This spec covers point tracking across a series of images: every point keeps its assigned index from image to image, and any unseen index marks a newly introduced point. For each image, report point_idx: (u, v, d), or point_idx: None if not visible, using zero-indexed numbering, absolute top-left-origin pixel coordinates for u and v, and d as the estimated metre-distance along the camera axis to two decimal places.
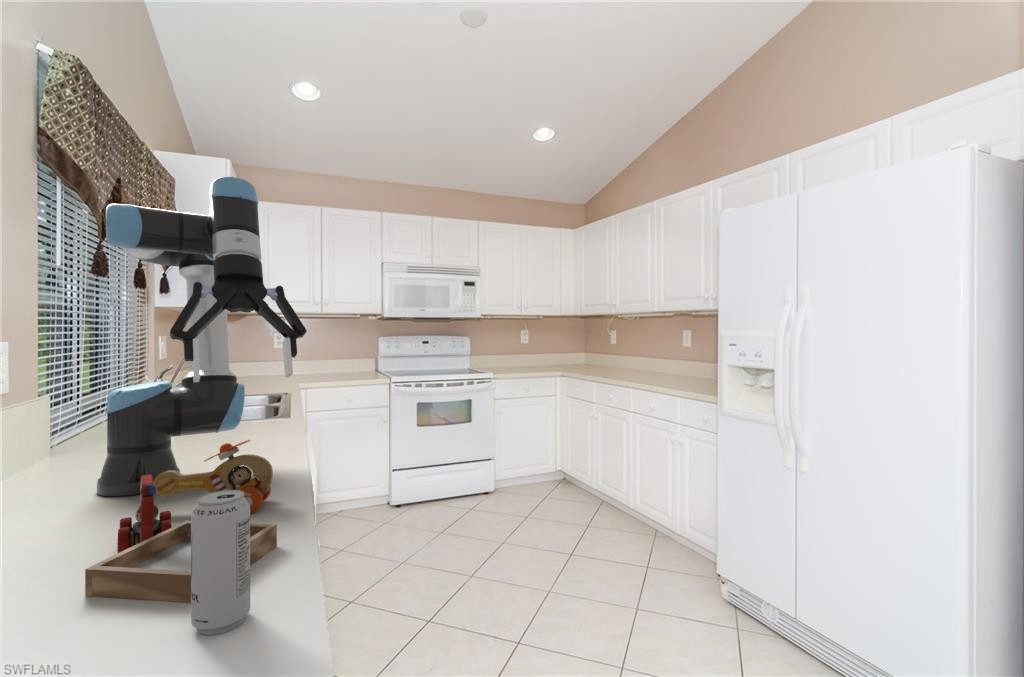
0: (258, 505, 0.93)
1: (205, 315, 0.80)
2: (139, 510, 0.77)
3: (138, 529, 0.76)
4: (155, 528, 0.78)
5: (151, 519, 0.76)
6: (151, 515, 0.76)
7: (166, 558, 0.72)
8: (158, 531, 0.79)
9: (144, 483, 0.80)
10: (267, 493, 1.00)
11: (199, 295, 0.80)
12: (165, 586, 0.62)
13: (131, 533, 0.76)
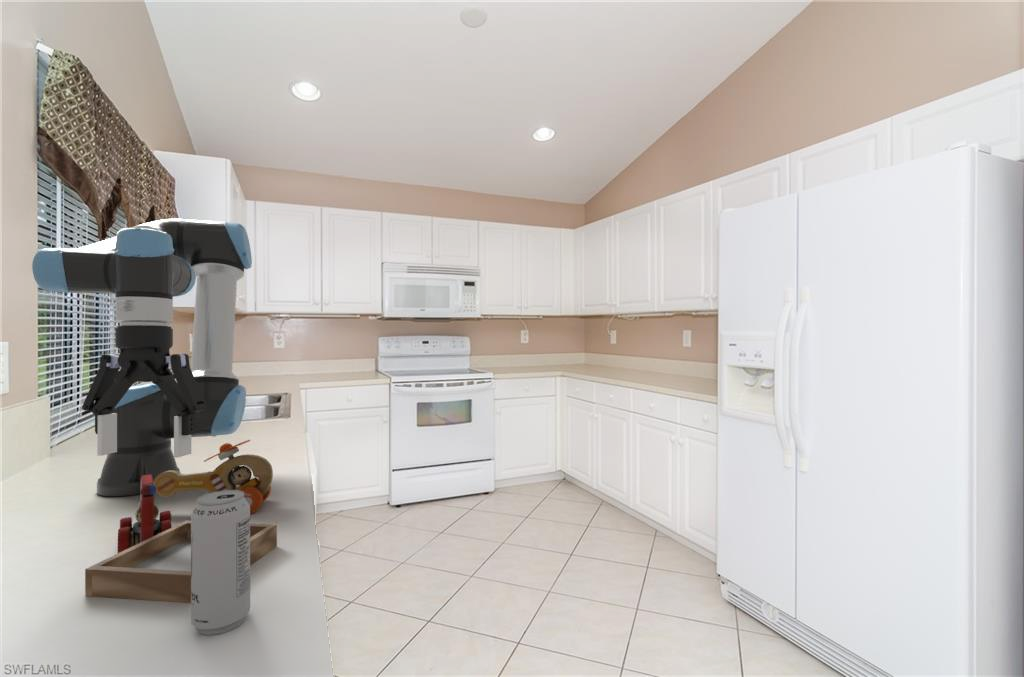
0: (258, 505, 0.93)
1: (108, 390, 0.79)
2: (139, 510, 0.77)
3: (138, 529, 0.76)
4: (155, 528, 0.78)
5: (151, 519, 0.76)
6: (151, 515, 0.76)
7: (166, 558, 0.72)
8: (158, 531, 0.79)
9: (144, 483, 0.80)
10: (267, 493, 1.00)
11: (104, 369, 0.79)
12: (165, 586, 0.62)
13: (131, 533, 0.76)
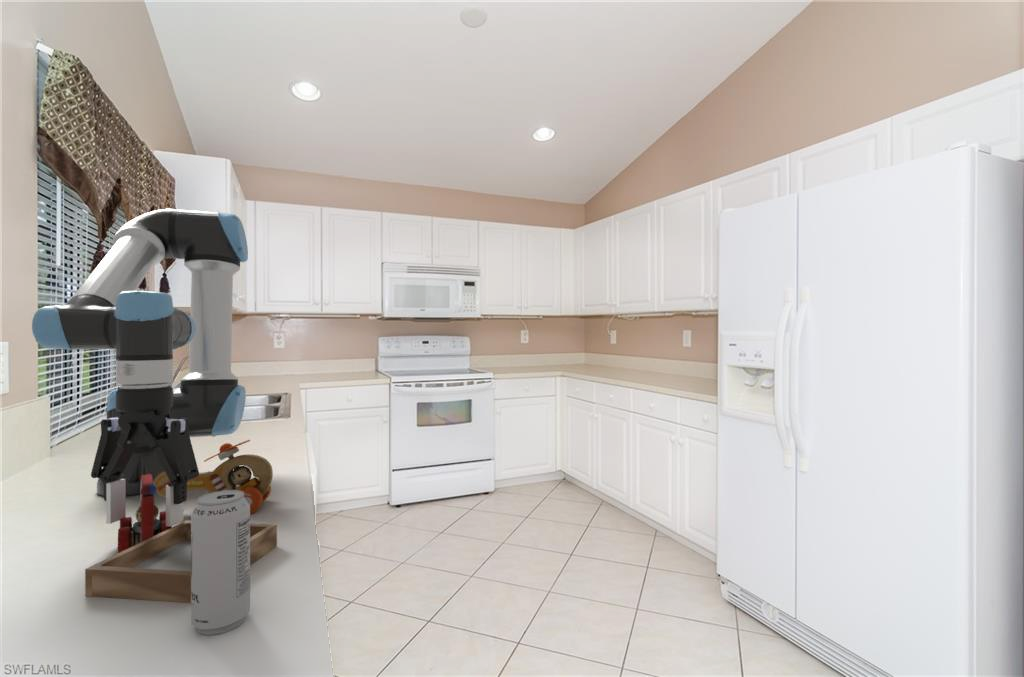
0: (258, 505, 0.93)
1: (113, 456, 0.79)
2: (139, 510, 0.77)
3: (138, 529, 0.76)
4: (155, 528, 0.78)
5: (151, 519, 0.76)
6: (151, 515, 0.76)
7: (166, 558, 0.72)
8: (158, 531, 0.79)
9: (144, 483, 0.80)
10: (267, 493, 1.00)
11: (106, 433, 0.79)
12: (165, 586, 0.62)
13: (131, 533, 0.76)
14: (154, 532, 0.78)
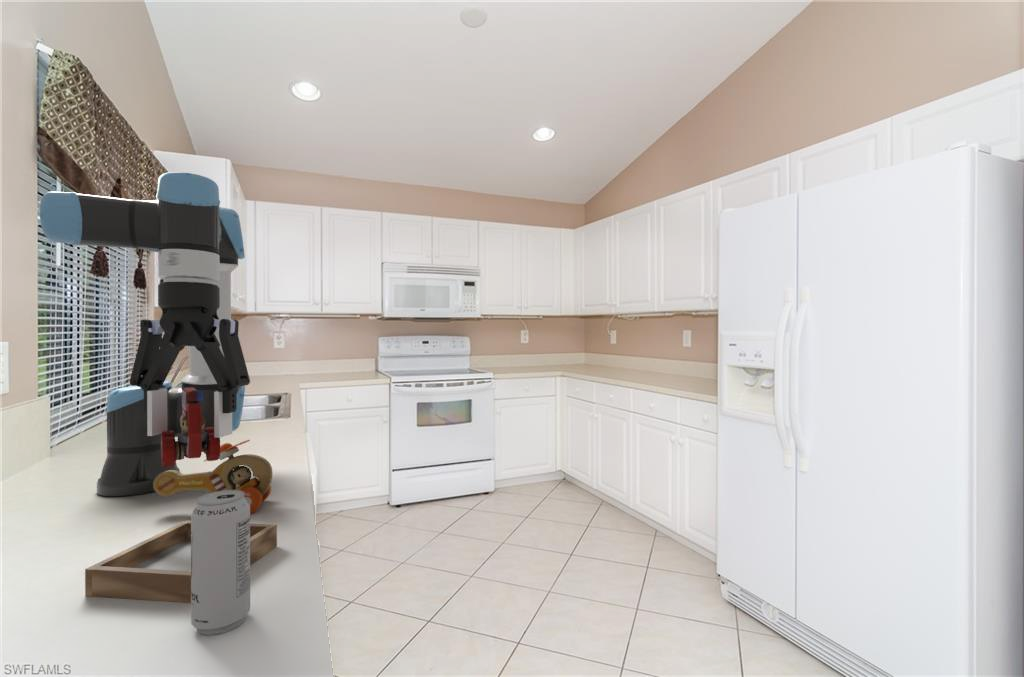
0: (257, 505, 0.93)
1: (155, 360, 0.71)
2: (185, 418, 0.68)
3: (184, 438, 0.68)
4: (202, 439, 0.69)
5: (199, 426, 0.67)
6: (199, 422, 0.67)
7: (166, 558, 0.72)
8: (205, 443, 0.70)
9: (188, 391, 0.71)
10: (267, 493, 1.00)
11: (147, 335, 0.71)
12: (165, 586, 0.62)
13: (176, 443, 0.68)
14: None
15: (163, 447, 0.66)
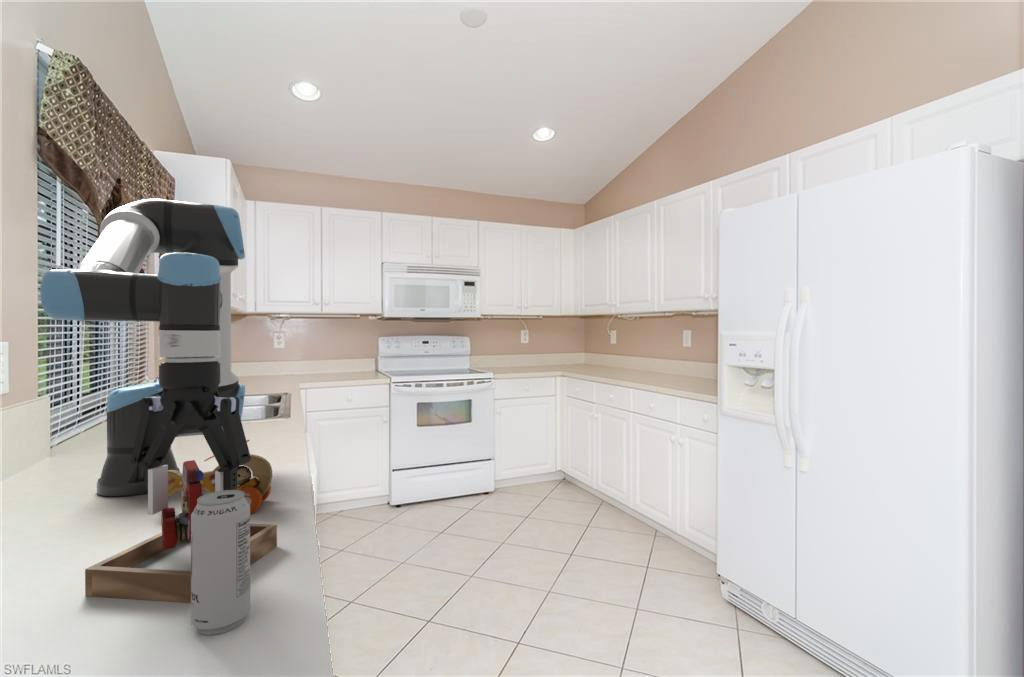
0: (257, 505, 0.93)
1: (156, 439, 0.71)
2: (186, 499, 0.68)
3: (185, 520, 0.68)
4: None
5: None
6: None
7: (166, 558, 0.72)
8: None
9: (189, 469, 0.71)
10: (267, 493, 1.00)
11: (148, 413, 0.71)
12: (165, 586, 0.62)
13: (177, 524, 0.68)
14: None
15: (164, 531, 0.66)
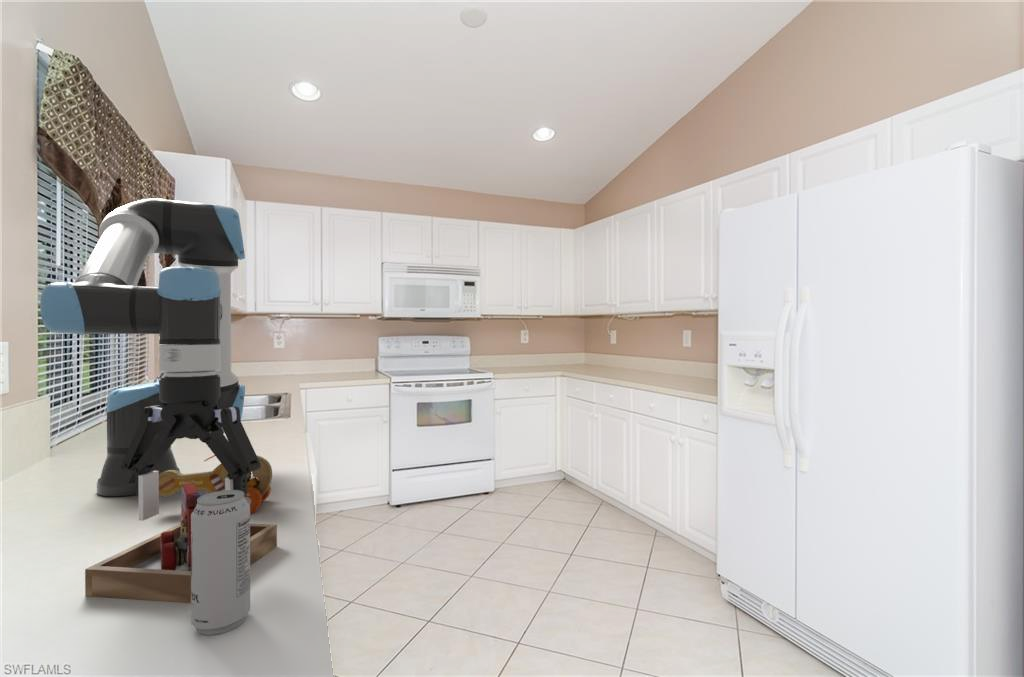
0: (257, 505, 0.93)
1: (150, 448, 0.71)
2: (185, 523, 0.68)
3: (184, 545, 0.68)
4: None
5: None
6: None
7: None
8: None
9: (188, 493, 0.71)
10: (267, 493, 1.00)
11: (146, 424, 0.71)
12: (165, 586, 0.62)
13: (176, 549, 0.68)
14: None
15: (163, 556, 0.66)
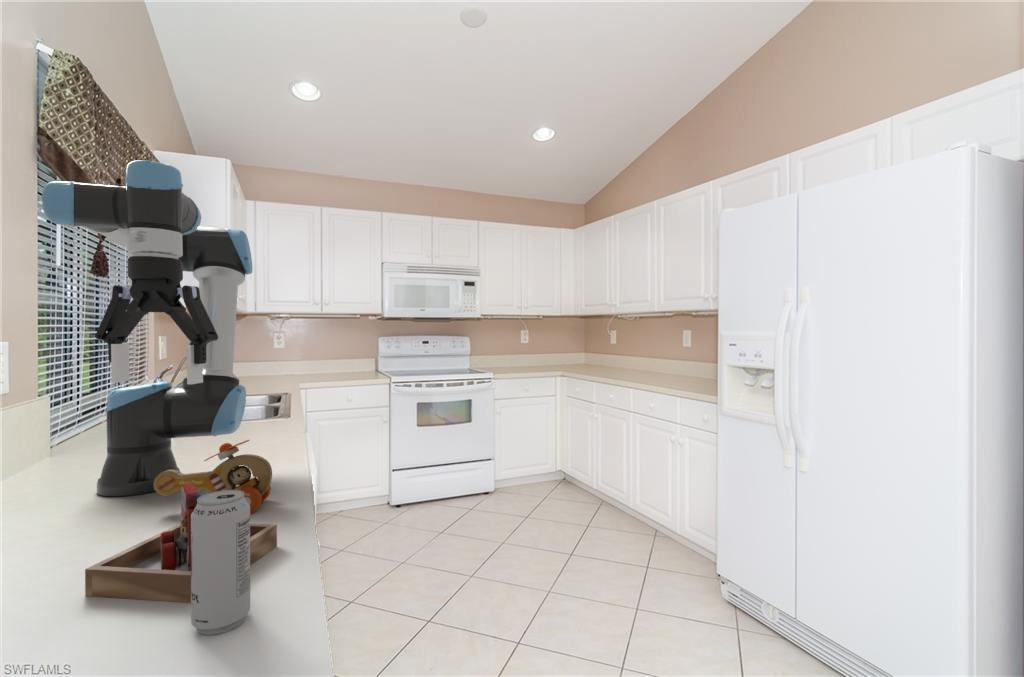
0: (257, 505, 0.93)
1: (121, 320, 0.82)
2: (185, 523, 0.68)
3: (184, 545, 0.68)
4: None
5: None
6: None
7: None
8: None
9: (188, 493, 0.71)
10: (267, 493, 1.00)
11: (117, 299, 0.82)
12: (165, 586, 0.62)
13: (176, 549, 0.68)
14: None
15: (163, 556, 0.66)
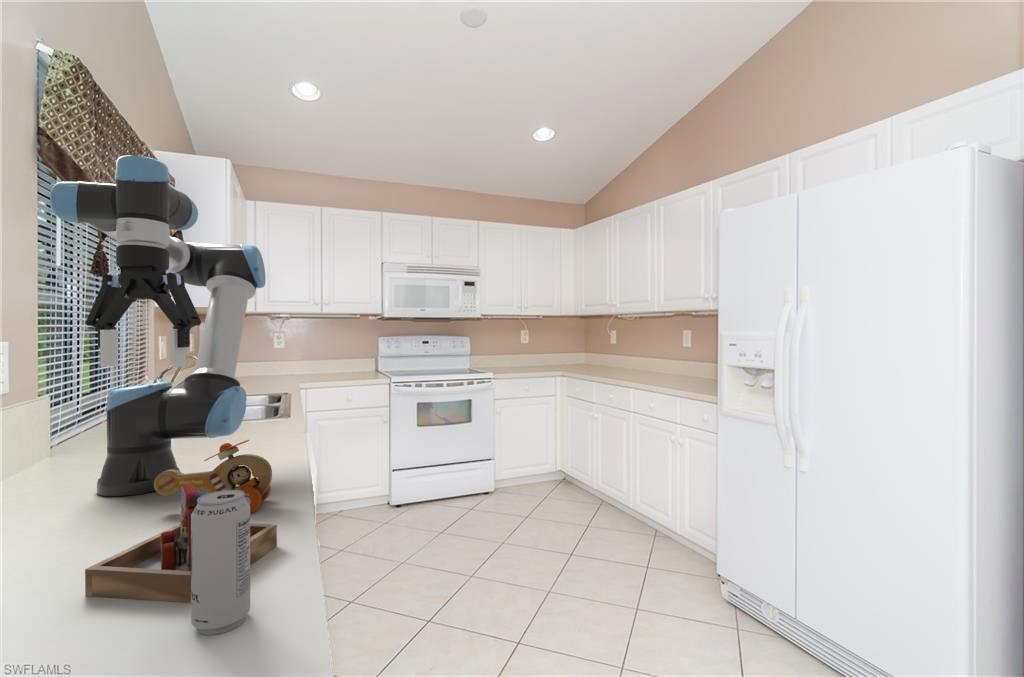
0: (256, 505, 0.93)
1: (110, 306, 0.86)
2: (185, 523, 0.68)
3: (184, 545, 0.68)
4: None
5: None
6: None
7: None
8: None
9: (188, 493, 0.71)
10: (267, 493, 1.00)
11: (106, 287, 0.86)
12: (165, 586, 0.62)
13: (176, 549, 0.68)
14: None
15: (163, 556, 0.66)
